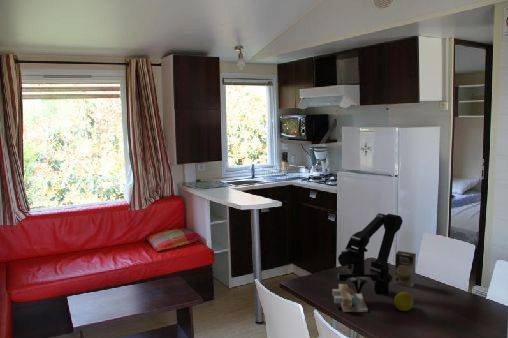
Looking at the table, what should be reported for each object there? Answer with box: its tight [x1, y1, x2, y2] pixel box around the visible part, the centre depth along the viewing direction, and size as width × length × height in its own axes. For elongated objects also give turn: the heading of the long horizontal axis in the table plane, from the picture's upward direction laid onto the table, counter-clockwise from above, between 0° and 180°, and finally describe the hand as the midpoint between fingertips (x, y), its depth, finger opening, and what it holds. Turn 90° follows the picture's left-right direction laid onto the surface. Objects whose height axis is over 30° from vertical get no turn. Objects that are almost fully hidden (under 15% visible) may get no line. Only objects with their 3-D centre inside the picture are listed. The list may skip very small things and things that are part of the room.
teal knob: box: [333, 294, 357, 305], centre depth 205 cm, size 10×4×5 cm, turn 85°
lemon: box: [393, 291, 414, 312], centre depth 201 cm, size 11×8×8 cm
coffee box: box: [394, 250, 417, 288], centre depth 230 cm, size 9×6×16 cm
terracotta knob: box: [331, 287, 355, 297], centre depth 213 cm, size 10×4×5 cm, turn 85°
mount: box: [338, 283, 369, 313], centre depth 209 cm, size 11×18×6 cm, turn 175°
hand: (358, 293), depth 212 cm, fingers closed
